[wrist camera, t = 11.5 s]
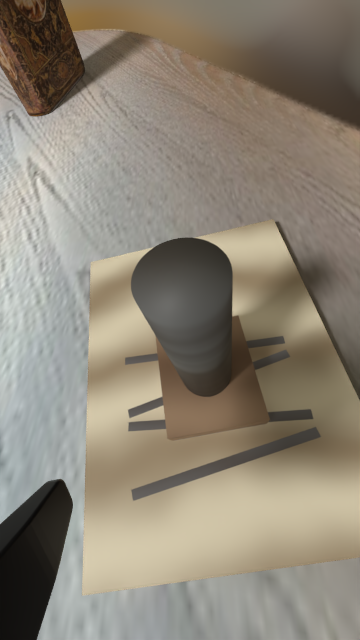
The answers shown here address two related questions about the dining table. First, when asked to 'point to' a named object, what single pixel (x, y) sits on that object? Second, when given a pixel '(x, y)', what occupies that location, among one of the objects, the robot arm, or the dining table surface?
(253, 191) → the dining table surface
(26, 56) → the book
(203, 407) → the grey post on base
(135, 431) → the birch board
